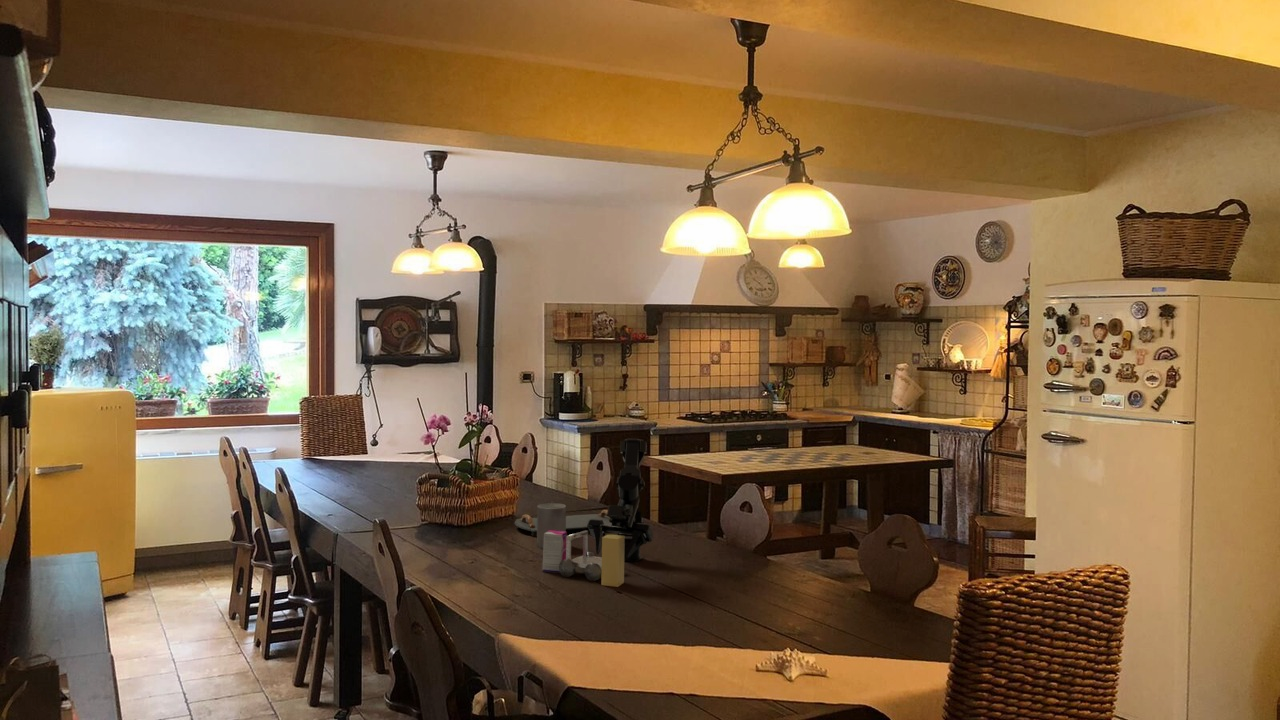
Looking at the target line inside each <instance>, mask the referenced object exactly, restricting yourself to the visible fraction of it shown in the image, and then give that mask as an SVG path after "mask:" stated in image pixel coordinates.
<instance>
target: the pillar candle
mask: <svg viewBox="0 0 1280 720" xmlns="http://www.w3.org/2000/svg"><path fill="white" fill-rule="evenodd" d="M536 509H537V512H536V513H537V514H536V515H537V517H536V518H537V536H536V547H537V548H539V549H541V550H542V549H543V545H544V533H546V532H548V531H549V530H551V531H564V532H567V530H566V516H567V506H566V504H564V503H559V502H558V503H557V502H556V503H555V502H551V503H550V502H548V503H540V504H538V505H537V508H536Z"/></svg>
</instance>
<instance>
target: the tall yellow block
mask: <svg viewBox="0 0 1280 720" xmlns="http://www.w3.org/2000/svg"><path fill="white" fill-rule="evenodd" d="M624 548H625V536H622V535H618V534H612V533H611V534H605V536H604V537H602V548H601V557H602V575H601V577H600V579H601V586H607V587H616V588H618V587H620V586H621V585H622V584H624V583H625V561H624Z"/></svg>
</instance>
